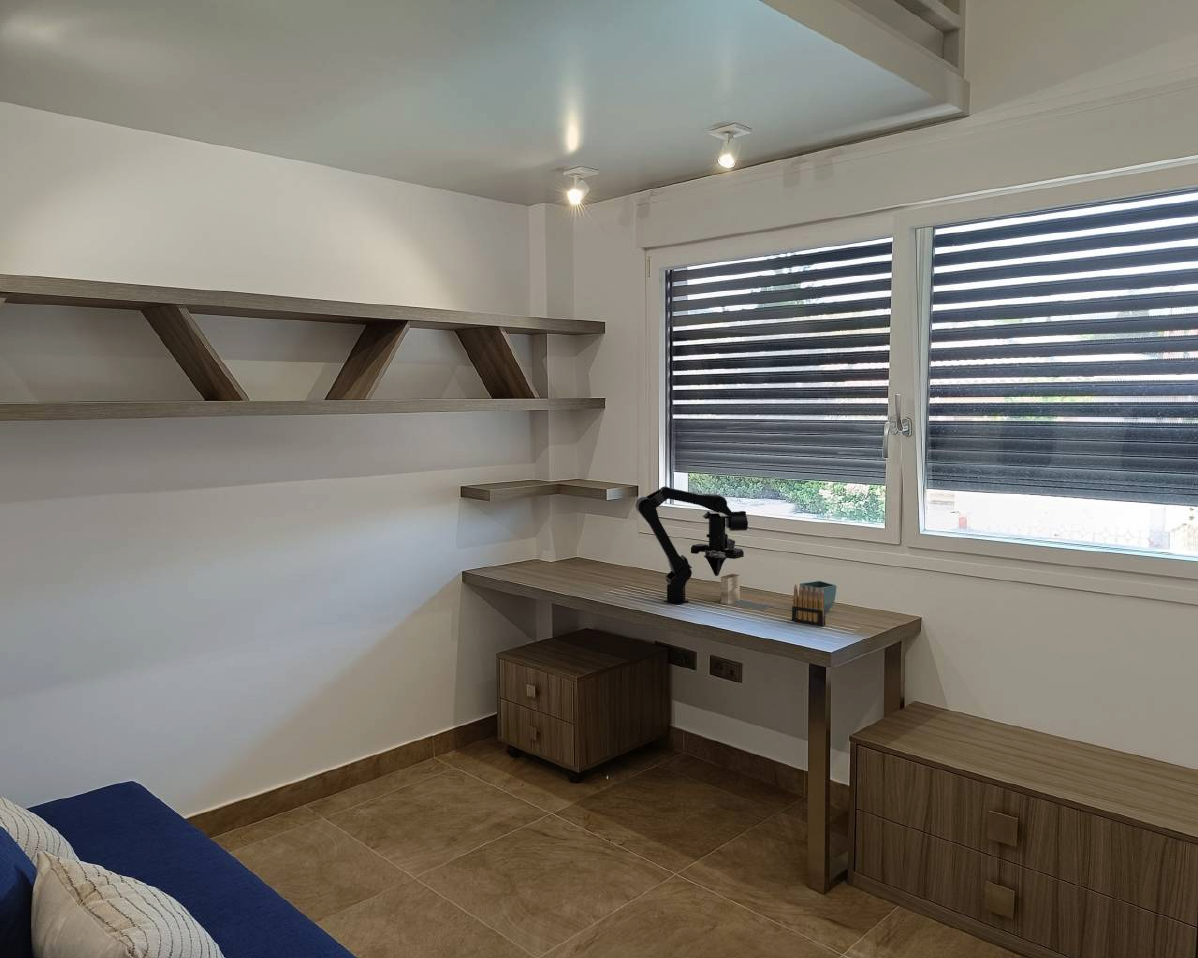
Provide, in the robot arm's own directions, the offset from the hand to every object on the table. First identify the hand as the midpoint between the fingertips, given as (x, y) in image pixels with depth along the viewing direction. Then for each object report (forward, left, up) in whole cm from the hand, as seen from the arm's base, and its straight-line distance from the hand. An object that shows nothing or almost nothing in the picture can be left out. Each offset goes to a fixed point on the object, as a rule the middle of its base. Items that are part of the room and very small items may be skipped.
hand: (716, 575), depth 319 cm
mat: (0, -12, -9) cm, 15 cm away
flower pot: (+8, -35, -9) cm, 37 cm away
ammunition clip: (-9, -41, -9) cm, 43 cm away
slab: (0, -6, -8) cm, 10 cm away
